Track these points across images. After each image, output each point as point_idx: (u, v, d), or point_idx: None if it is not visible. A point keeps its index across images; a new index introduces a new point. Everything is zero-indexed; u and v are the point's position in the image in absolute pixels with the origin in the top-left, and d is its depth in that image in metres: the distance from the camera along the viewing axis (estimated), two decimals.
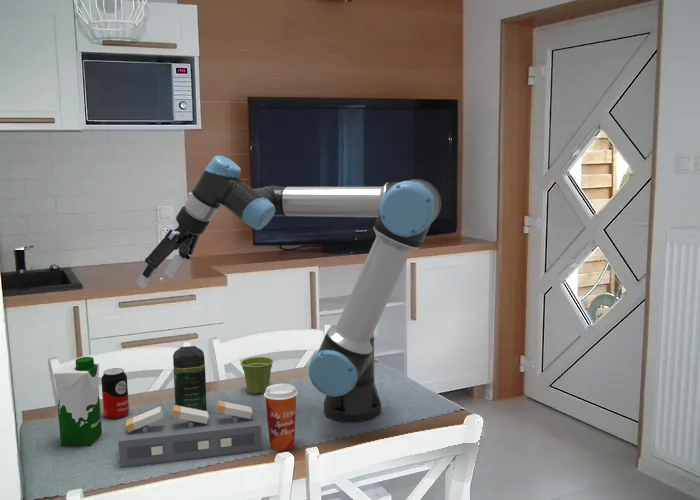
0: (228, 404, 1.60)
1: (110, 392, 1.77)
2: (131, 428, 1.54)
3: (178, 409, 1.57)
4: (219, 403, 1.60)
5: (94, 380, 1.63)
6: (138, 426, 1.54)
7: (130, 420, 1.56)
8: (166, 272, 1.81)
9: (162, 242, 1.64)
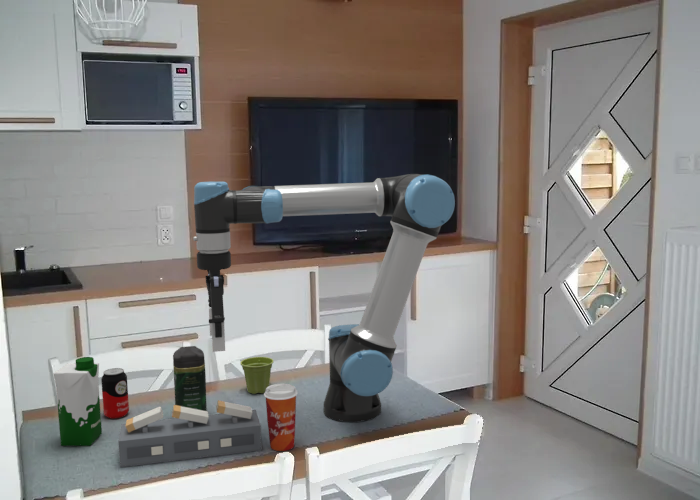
0: (228, 404, 1.60)
1: (110, 392, 1.77)
2: (131, 428, 1.54)
3: (178, 409, 1.57)
4: (219, 403, 1.60)
5: (94, 380, 1.63)
6: (138, 426, 1.54)
7: (130, 420, 1.56)
8: (212, 333, 1.64)
9: (213, 293, 1.49)
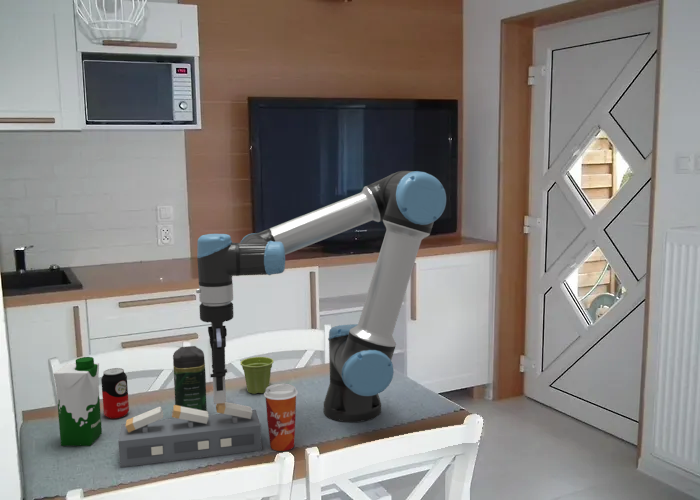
0: (228, 404, 1.60)
1: (110, 392, 1.77)
2: (131, 428, 1.54)
3: (178, 409, 1.57)
4: (219, 403, 1.60)
5: (94, 380, 1.63)
6: (138, 426, 1.54)
7: (130, 420, 1.56)
8: None
9: (216, 354, 1.53)
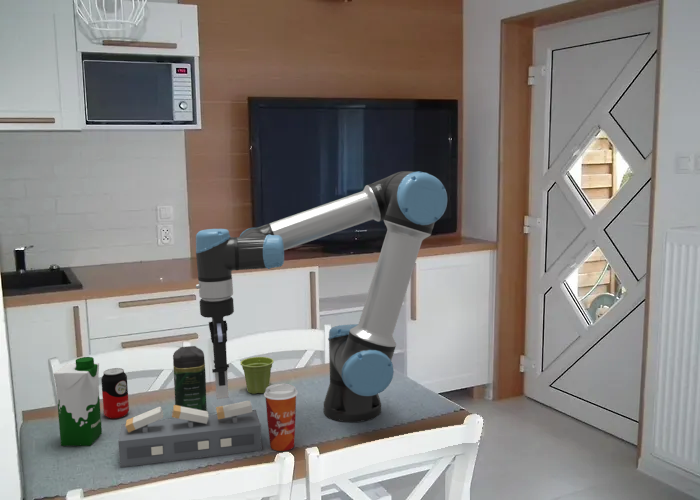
0: (227, 407, 1.60)
1: (110, 392, 1.77)
2: (131, 428, 1.54)
3: (178, 409, 1.57)
4: (217, 410, 1.60)
5: (94, 380, 1.63)
6: (138, 426, 1.54)
7: (130, 420, 1.56)
8: None
9: (217, 349, 1.53)
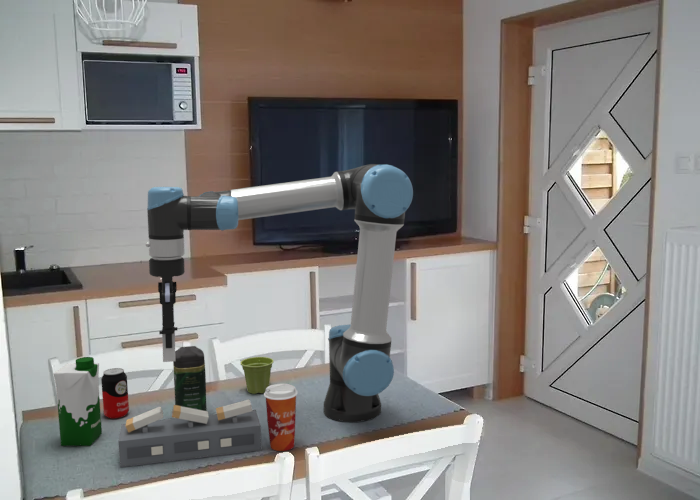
0: (227, 407, 1.60)
1: (110, 392, 1.77)
2: (131, 428, 1.54)
3: (178, 409, 1.57)
4: (217, 411, 1.60)
5: (94, 380, 1.63)
6: (138, 426, 1.54)
7: (130, 420, 1.56)
8: None
9: (164, 309, 1.49)
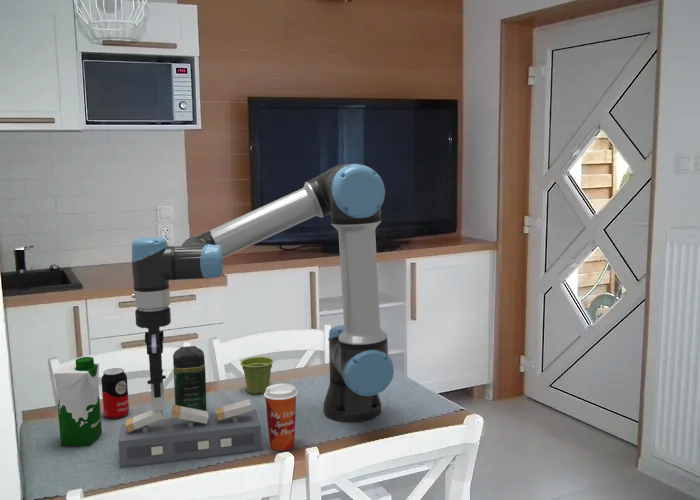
0: (227, 408, 1.60)
1: (110, 392, 1.77)
2: (130, 428, 1.54)
3: (178, 409, 1.57)
4: (217, 411, 1.60)
5: (94, 380, 1.63)
6: (138, 426, 1.54)
7: (130, 420, 1.56)
8: None
9: (151, 360, 1.50)
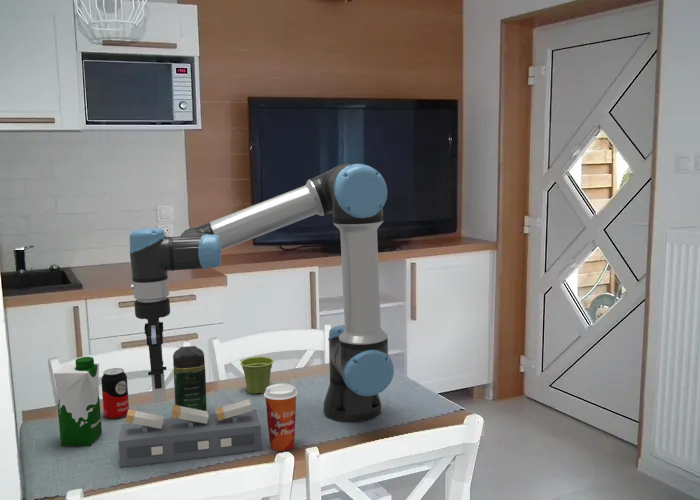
0: (227, 408, 1.60)
1: (110, 392, 1.77)
2: (130, 419, 1.53)
3: (178, 409, 1.57)
4: (217, 411, 1.60)
5: (94, 380, 1.63)
6: (137, 422, 1.54)
7: (131, 412, 1.56)
8: None
9: (151, 351, 1.49)
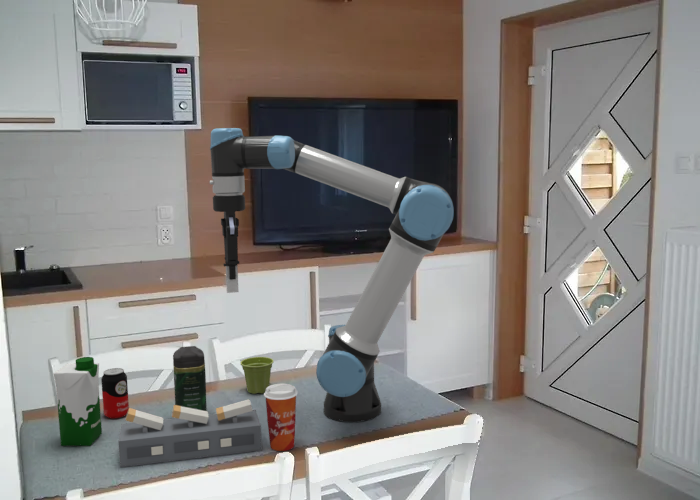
0: (227, 408, 1.60)
1: (110, 392, 1.77)
2: (130, 418, 1.53)
3: (178, 409, 1.57)
4: (217, 411, 1.60)
5: (94, 380, 1.63)
6: (137, 421, 1.54)
7: (132, 411, 1.56)
8: None
9: (229, 241, 1.60)
